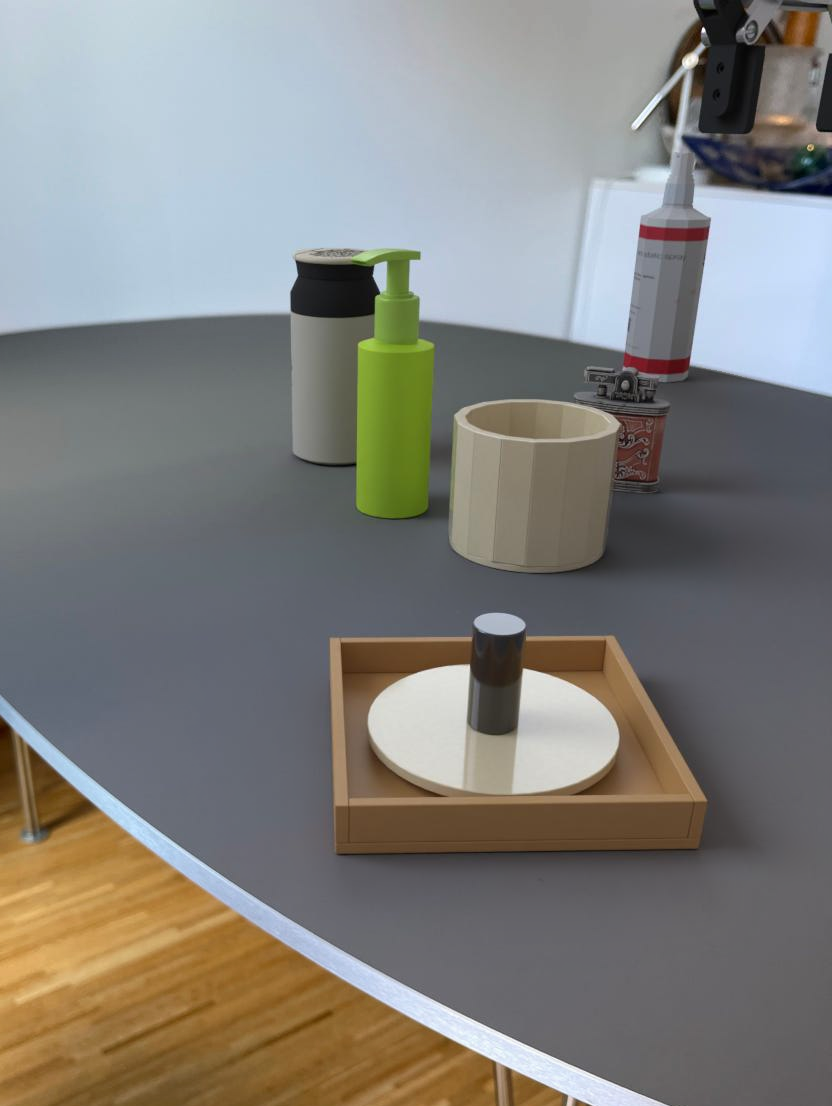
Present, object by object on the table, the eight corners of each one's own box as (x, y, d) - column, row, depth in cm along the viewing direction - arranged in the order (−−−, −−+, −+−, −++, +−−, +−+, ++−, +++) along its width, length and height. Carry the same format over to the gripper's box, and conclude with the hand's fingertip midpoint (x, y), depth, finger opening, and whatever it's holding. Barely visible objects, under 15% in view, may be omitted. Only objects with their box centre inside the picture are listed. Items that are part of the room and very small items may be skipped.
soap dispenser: (331, 507, 87) (331, 248, 78) (394, 490, 91) (401, 242, 82) (379, 526, 83) (384, 256, 74) (442, 508, 87) (455, 249, 78)
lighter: (661, 484, 93) (677, 369, 89) (653, 496, 90) (670, 377, 86) (570, 472, 96) (582, 360, 92) (560, 482, 93) (572, 367, 89)
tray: (608, 675, 62) (614, 635, 61) (699, 849, 47) (708, 801, 46) (329, 677, 61) (329, 637, 60) (334, 854, 47) (334, 805, 46)
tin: (584, 516, 86) (597, 399, 82) (621, 572, 76) (639, 441, 71) (441, 516, 86) (446, 399, 81) (458, 573, 75) (466, 442, 71)
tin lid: (585, 681, 60) (598, 571, 57) (648, 814, 49) (669, 686, 46) (361, 683, 60) (363, 572, 57) (372, 817, 48) (375, 689, 45)
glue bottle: (610, 374, 132) (635, 151, 121) (645, 365, 136) (673, 150, 125) (664, 385, 127) (696, 154, 115) (699, 376, 131) (733, 152, 120)
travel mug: (393, 451, 102) (398, 251, 94) (345, 472, 96) (347, 261, 88) (325, 437, 106) (324, 245, 97) (275, 456, 100) (270, 253, 92)
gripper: (802, -326, 44) (732, 136, 51) (1032, -255, 52) (942, 134, 60) (664, -277, 49) (620, 132, 57) (892, -221, 58) (826, 131, 65)
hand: (785, 132), depth 58 cm, fingers open, 9 cm apart
